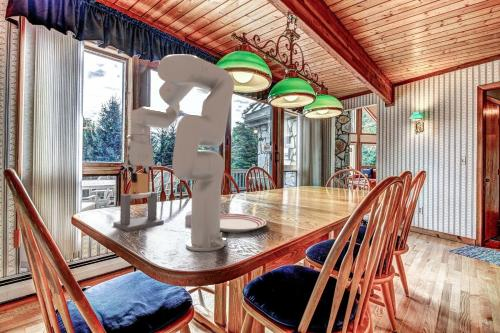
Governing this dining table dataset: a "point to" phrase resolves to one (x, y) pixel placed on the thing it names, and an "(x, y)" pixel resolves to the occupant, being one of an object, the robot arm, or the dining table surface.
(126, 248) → the dining table surface
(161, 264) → the dining table surface
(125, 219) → the stand
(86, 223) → the dining table surface
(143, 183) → the orange rectangular block
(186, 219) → the charger
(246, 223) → the dinner plate
